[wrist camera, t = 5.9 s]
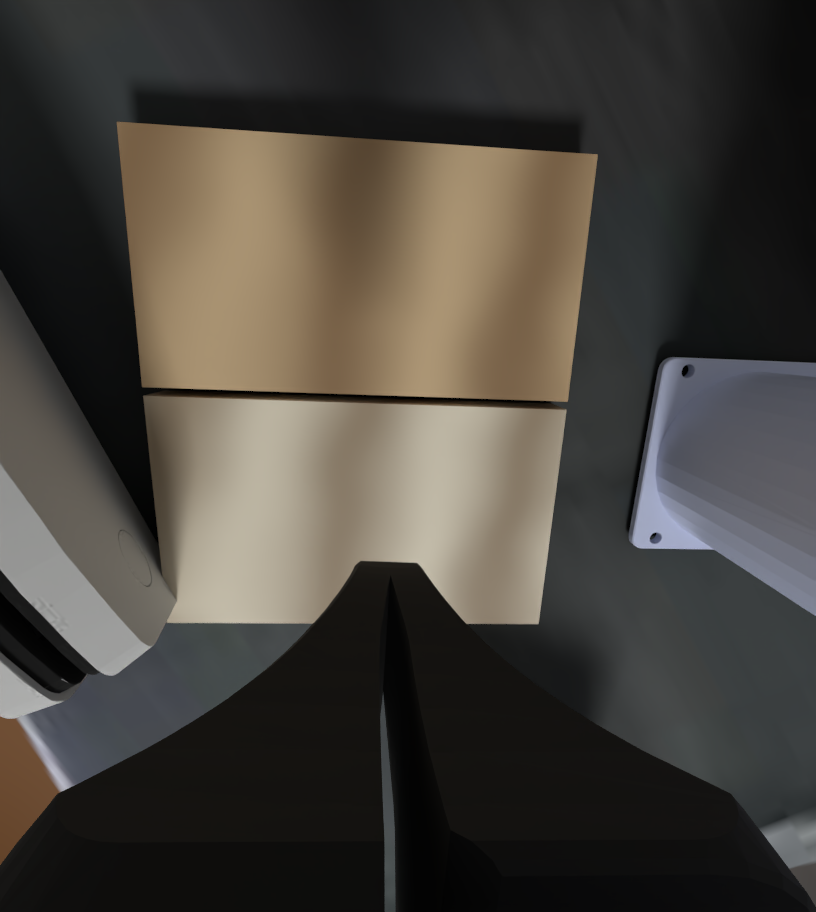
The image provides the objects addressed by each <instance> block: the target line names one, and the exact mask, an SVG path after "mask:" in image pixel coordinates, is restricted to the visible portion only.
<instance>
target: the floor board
mask: <svg viewBox="0 0 816 912" xmlns="http://www.w3.org/2000/svg"><path fill="white" fill-rule="evenodd" d="M143 400H144V409H145V419H146V428H147V437H148V447H149V456H150V465H151V474H152V484H153V493H154V502H155V512H156V521H157V530H158V540H159V549H160V558H161V568H162V576H163V578H164V580H165V582H166V583H167V585H168V587H169V588H170V590H171V592H172V593H173V595H174V597H175V599H176V600H177V602H176V604H175V606H174V608H173V610H172V612H171V614H170V616H169V618H168V619H167V623H314V622H315V621H316V620H317V619H318V618H319V616H320V615H321V614H322V613H323V612H324V611H325V609H326V608H327V607H328V606H329V604H330V603H331V602H332V600H333V599H334V598H335V596H336V595H337V594H338V593H339V591H340V590H341V588H342V587H343V585H344V584H345V582H346V581H347V579H348V578H349V576H350V574H351V573H352V571H353V569H354V566H355V565H356V564H357V563H358V562H360V561H380V562H408V563H418V564H419V565H420V566H421V568H422V569H423V570H424V572H425V573H426V575H427V576H428V577H429V579H430V580H431V581H432V583H433V584H434V586H435V587H436V588H437V589H438V591H439V592H440V593H441V595H442V596H443V597H444V598H445V600H446V601H447V602H448V603H449V605H450V606H451V607H452V608H453V609H454V610H455V612H456V613H457V614H458V615H459V616H460V617H461V619H462V620H463V621H464V622H465V623H466V624H539V616H540V609H541V601H542V593H543V586H544V578H545V571H546V563H547V555H548V548H549V540H550V532H551V525H552V517H553V510H554V502H555V494H556V487H557V479H558V471H559V464H560V456H561V448H562V441H563V433H564V426H565V418H566V409H563V408H561V407H559V406H556V405H554V404H551V403H526V402H496V401H467V400H437V399H407V398H378V397H348V396H318V395H289V394H259V393H230V392H200V391H170V390H163V391H160V392H156V393H152V394H148V395H145V396H143Z"/></svg>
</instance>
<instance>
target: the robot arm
mask: <svg viewBox="0 0 816 912" xmlns="http://www.w3.org/2000/svg"><path fill="white" fill-rule="evenodd" d="M685 365H687V366H688V373H687V374H686V375H685V376H684V377H683V376H682V369H683V367H684V366H685ZM653 533H656V536H655V538H653V539H651V540H650V536H651V535H652V534H653ZM629 540H630V542H631V543H632V544H634V545H635V546H636V547H638V548H655V549H714V550H716V551H717V552H719V553H720V554H722V555H723V556H725V557H726V558H728V559H729V560H731V561H733V562H734V563H736V564H737V565H739V566H740V567H742V568H743V569H745V570H746V571H748V572H749V573H751V574H752V575H754V576H755V577H757V578H758V579H760V580H762V581H763V582H765V583H766V584H768V585H769V586H771V587H772V588H774V589H775V590H777V591H778V592H780V593H781V594H783V595H784V596H786V597H787V598H789V599H791V600H792V601H794V602H795V603H797V604H798V605H800V606H801V607H803V608H804V609H806V610H807V611H809V612H810V613H812V614H813V615H815V616H816V363H807V362H783V361H758V360H734V359H709V358H685V357H670V358H667V359H665V360H663V361H662V363H661V364H660V366H659V368H658V373H657V378H656V384H655V389H654V395H653V401H652V406H651V412H650V417H649V423H648V429H647V434H646V440H645V445H644V451H643V457H642V462H641V468H640V473H639V479H638V485H637V490H636V496H635V501H634V507H633V513H632V518H631V524H630V529H629ZM383 693H384V705H385V716H386V727H387V738H388V749H389V759H390V770H391V781H392V792H393V804H394V822H395V886H396V912H816V907H815V905H814V903H813V902H812V900H811V898H810V897H809V895H808V894H807V892H806V891H805V889H804V888H803V887H802V885H800V883H799V881H798V880H797V879H796V878H795V876H794V875H793V874H792V873H791V871H790V870H789V868H788V867H787V866H786V864H785V863H784V862H783V860H782V859H781V858H780V856H779V855H778V854H777V852H776V851H775V850H774V848H773V847H772V846H771V844H770V843H769V842H768V840H767V839H766V838H765V836H764V835H763V834H762V832H761V831H760V830H759V829H758V827H757V826H756V825H755V823H754V822H753V821H752V819H751V818H750V817H749V816H748V814H747V813H746V812H745V810H744V809H743V808H742V807H741V806H740V804H739V803H738V802H737V801H736V800H735V798H734V797H733V796H732V795H731V794H730V793H728V792H726V791H724V790H722V789H720V788H718V787H716V786H714V785H712V784H710V783H708V782H706V781H704V780H702V779H699V778H697V777H695V776H693V775H691V774H689V773H687V772H685V771H683V770H681V769H679V768H677V767H675V766H673V765H671V764H669V763H667V762H665V761H663V760H661V759H658V758H656V757H654V756H652V755H650V754H648V753H646V752H644V751H642V750H641V749H639V748H637V747H635V746H633V745H632V744H630V743H628V742H626V741H625V740H623V739H621V738H619V737H617V736H616V735H614V734H612V733H610V732H609V731H607V730H605V729H603V728H602V727H600V726H598V725H596V724H595V723H593V722H592V721H590V720H588V719H587V718H585V717H584V716H582V715H580V714H579V713H577V712H575V711H574V710H572V709H571V708H569V707H568V706H566V705H565V704H563V703H562V702H560V701H559V700H557V699H556V698H555V697H553V696H552V695H550V694H549V693H547V692H546V691H544V690H543V689H542V688H540V687H539V686H537V685H536V684H534V683H533V682H532V681H530V680H529V679H528V678H526V677H525V676H524V675H523V674H521V673H520V672H519V671H518V670H516V669H515V668H514V667H513V666H512V665H510V664H509V663H508V662H507V661H505V660H504V659H503V658H502V657H501V656H499V655H498V654H497V653H496V652H495V651H494V650H493V649H491V648H490V647H489V646H488V645H487V644H486V643H485V642H484V641H483V640H482V639H481V638H480V637H479V636H478V635H477V634H476V633H475V632H474V631H473V630H472V629H471V628H470V627H469V626H468V625H467V624H466V623H465V622H464V621H463V620H462V619H461V617H460V616H459V615H458V614H457V613H456V612H455V610H454V609H453V608H452V607H451V606H450V605H449V603H448V602H447V601H446V600H445V598H444V597H443V596H442V595H441V593H440V592H439V591H438V589H437V588H436V587H435V586H434V584H433V583H432V581H431V580H430V579H429V577H428V576H427V575H426V573H425V572H424V570H423V569H422V568H421V566H420V565H419V564H418V563H408V562H380V561H360V562H358V563H357V564H356V565H355V566H354V569H353V571H352V573H351V574H350V576H349V578H348V579H347V581H346V582H345V584H344V585H343V587H342V588H341V590H340V591H339V593H338V594H337V595H336V596H335V598H334V599H333V600H332V602H331V603H330V604H329V606H328V607H327V608H326V609H325V611H324V612H323V613H322V614H321V615H320V616H319V618H318V619H317V620H316V621H315V622H314V623H313V624H312V625H311V626H310V628H309V629H308V630H307V631H306V632H305V633H304V634H303V635H302V636H301V637H300V638H299V639H298V640H297V641H296V642H295V643H294V644H293V645H292V646H291V647H290V648H289V649H288V650H287V651H286V652H285V653H284V654H283V655H282V656H281V657H280V658H278V659H277V660H276V661H275V662H274V663H273V664H272V665H271V666H269V667H268V668H267V669H266V670H265V671H263V672H262V673H261V674H260V675H258V676H257V677H256V678H255V679H253V680H252V681H251V682H249V683H248V684H247V685H245V686H244V687H243V688H241V689H240V690H239V691H237V692H236V693H235V694H233V695H232V696H231V697H229V698H228V699H227V700H225V701H224V702H222V703H221V704H219V705H218V706H216V707H215V708H213V709H212V710H210V711H208V712H207V713H205V714H204V715H202V716H201V717H199V718H198V719H196V720H194V721H193V722H191V723H189V724H188V725H186V726H184V727H183V728H181V729H179V730H178V731H176V732H175V733H173V734H171V735H170V736H168V737H166V738H164V739H163V740H161V741H159V742H157V743H156V744H154V745H152V746H150V747H148V748H147V749H145V750H143V751H141V752H139V753H137V754H135V755H133V756H131V757H129V758H127V759H125V760H124V761H122V762H120V763H118V764H116V765H114V766H112V767H110V768H108V769H106V770H104V771H102V772H100V773H98V774H96V775H95V776H93V777H91V778H89V779H87V780H85V781H83V782H81V783H79V784H77V785H75V786H73V787H71V788H69V789H66V790H64V791H62V792H60V793H58V794H57V795H56V796H55V798H54V799H53V800H52V801H51V803H50V804H49V805H48V806H47V808H46V809H45V810H44V811H43V813H42V814H41V815H40V816H39V818H38V819H37V820H36V821H35V822H34V823H33V825H32V826H31V827H30V828H29V829H28V830H27V832H26V833H25V834H24V835H23V836H22V838H21V839H20V840H19V841H18V842H17V844H16V845H15V846H14V848H13V849H12V850H11V852H10V853H9V854H8V856H7V857H6V859H5V860H4V861H3V862H2V864H1V865H0V912H384V823H383V800H382V771H381V737H380V713H381V704H382V695H383Z"/></svg>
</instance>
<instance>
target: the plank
mask: <svg viewBox="0 0 816 912" xmlns="http://www.w3.org/2000/svg"><path fill="white" fill-rule="evenodd" d="M117 130H118V140H119V151H120V161H121V172H122V182H123V193H124V203H125V214H126V224H127V234H128V245H129V255H130V266H131V276H132V287H133V297H134V308H135V318H136V328H137V339H138V349H139V360H140V370H141V381H142V387H150V388H180V389H209V390H238V391H268V392H297V393H327V394H356V395H385V396H415V397H444V398H473V399H503V400H532V401H562V402H568V395H569V386H570V378H571V370H572V362H573V353H574V345H575V337H576V329H577V321H578V312H579V304H580V296H581V288H582V280H583V271H584V263H585V255H586V247H587V238H588V230H589V222H590V214H591V206H592V197H593V189H594V181H595V173H596V165H597V156H598V155H596V154H582V153H567V152H552V151H538V150H523V149H509V148H494V147H479V146H465V145H450V144H435V143H421V142H406V141H392V140H377V139H362V138H348V137H333V136H318V135H304V134H289V133H275V132H260V131H245V130H231V129H216V128H201V127H187V126H172V125H158V124H143V123H128V122H117Z"/></svg>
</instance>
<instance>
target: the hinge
mask: <svg viewBox="0 0 816 912" xmlns="http://www.w3.org/2000/svg"><path fill="white" fill-rule="evenodd" d="M176 602H177V600H176V599H175V597H174V595H173V593H172V592H171V590H170V588H169V587H168V585H167V583H166V582H165V580H164V578H163V576H162V568H161V558H160V549H159V545H158V543H157V541H156V540H155V538H154V536H153V534H152V533H151V531H150V529H149V527H148V526H147V524H146V522H145V520H144V519H143V517H142V515H141V514H140V512H139V510H138V508H137V507H136V505H135V503H134V501H133V500H132V498H131V496H130V494H129V493H128V491H127V489H126V487H125V486H124V484H123V482H122V480H121V479H120V477H119V475H118V473H117V472H116V470H115V468H114V466H113V465H112V463H111V461H110V460H109V458H108V456H107V454H106V453H105V451H104V449H103V447H102V446H101V444H100V442H99V440H98V439H97V437H96V435H95V433H94V432H93V430H92V428H91V426H90V425H89V423H88V421H87V419H86V418H85V416H84V414H83V412H82V411H81V409H80V407H79V406H78V404H77V402H76V400H75V399H74V397H73V395H72V393H71V392H70V390H69V388H68V386H67V385H66V383H65V381H64V379H63V378H62V376H61V374H60V372H59V371H58V369H57V367H56V365H55V364H54V362H53V360H52V358H51V357H50V355H49V353H48V352H47V350H46V348H45V346H44V345H43V343H42V341H41V339H40V338H39V336H38V334H37V332H36V331H35V329H34V327H33V325H32V324H31V322H30V320H29V318H28V317H27V315H26V313H25V311H24V310H23V308H22V306H21V304H20V303H19V301H18V299H17V298H16V296H15V294H14V292H13V291H12V289H11V287H10V285H9V284H8V282H7V280H6V278H5V277H4V275H3V273H2V271H1V270H0V716H1V717H4V718H17V717H20V716H23V715H26V714H29V713H31V712H34V711H37V710H40V709H43V708H46V707H49V706H52V705H55V704H58V703H60V702H63V701H66V700H67V699H69V698H71V697H72V695H73V694H74V693H75V691H76V690H77V689H78V687H79V686H80V684H81V683H82V682H83V680H84V679H85V678H86V676H87V675H88V674H91V675H95V674H97V673H99V672H101V673H103V674H105V675H110V676H112V675H115V674H117V673H119V672H120V671H121V670H123V669H124V668H125V667H126V666H128V665H129V664H130V663H131V662H133V661H134V660H135V659H137V658H138V657H139V656H140V655H142V654H143V653H144V652H146V651H147V650H148V649H149V648H151V647H152V646H153V645H154V644H155V643H156V641H157V639H158V637H159V635H160V633H161V631H162V629H163V627H164V625H165V623H166V621H167V619H168V618H169V616H170V614H171V612H172V610H173V608H174V606H175V604H176Z"/></svg>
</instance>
